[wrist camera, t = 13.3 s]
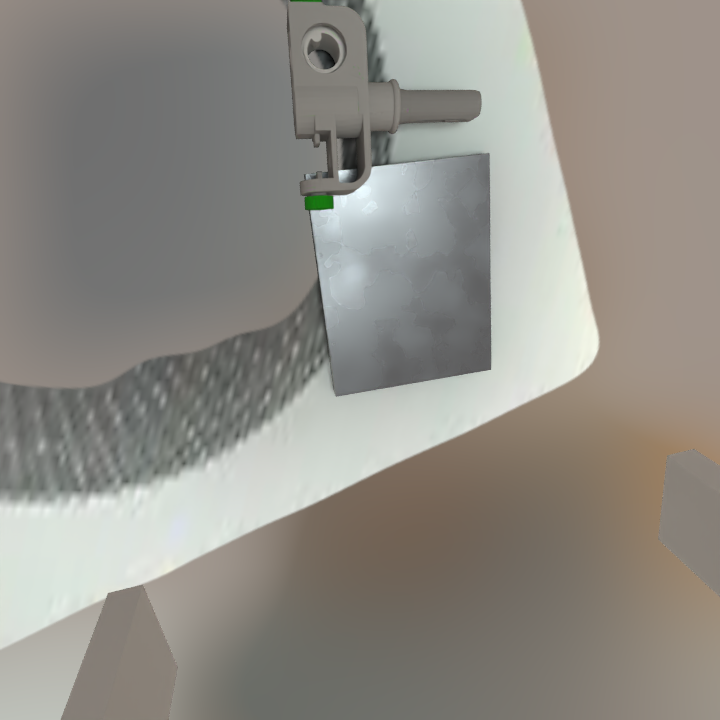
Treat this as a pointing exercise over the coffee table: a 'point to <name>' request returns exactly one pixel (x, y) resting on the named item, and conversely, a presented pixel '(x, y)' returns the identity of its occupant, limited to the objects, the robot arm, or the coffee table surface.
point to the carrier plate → (406, 273)
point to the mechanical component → (352, 95)
